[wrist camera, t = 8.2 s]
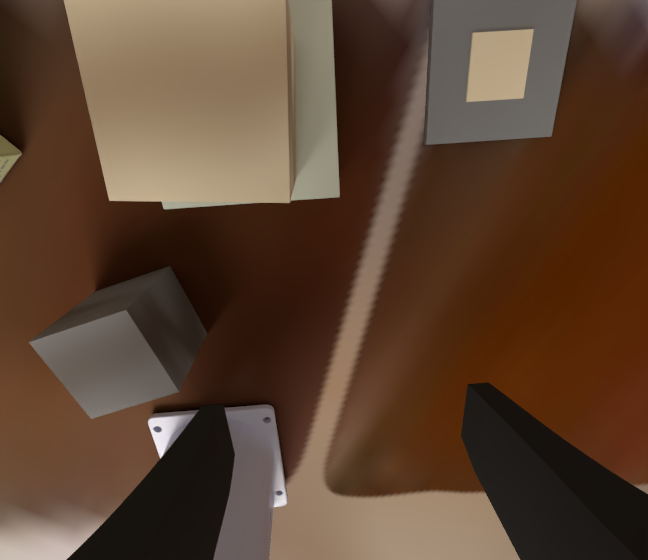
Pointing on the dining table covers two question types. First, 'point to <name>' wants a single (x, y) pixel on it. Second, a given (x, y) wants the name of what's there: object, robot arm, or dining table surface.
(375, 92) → the dining table surface
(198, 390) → the dining table surface
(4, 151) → the box
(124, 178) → the birch block
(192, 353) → the gray block
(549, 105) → the tile
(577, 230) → the dining table surface
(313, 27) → the grey-green pedestal
